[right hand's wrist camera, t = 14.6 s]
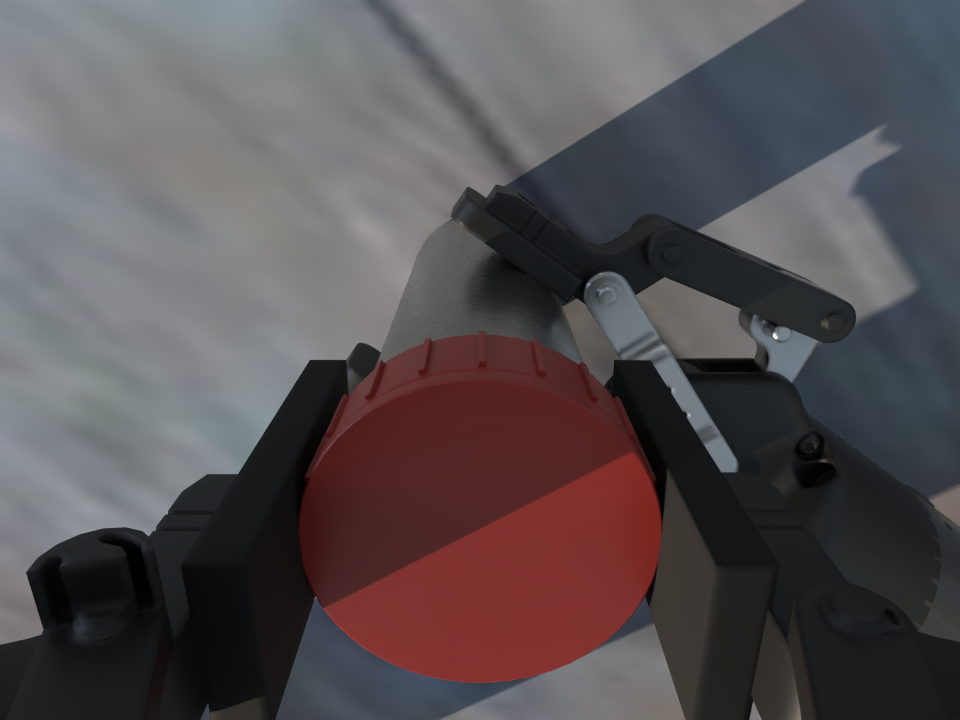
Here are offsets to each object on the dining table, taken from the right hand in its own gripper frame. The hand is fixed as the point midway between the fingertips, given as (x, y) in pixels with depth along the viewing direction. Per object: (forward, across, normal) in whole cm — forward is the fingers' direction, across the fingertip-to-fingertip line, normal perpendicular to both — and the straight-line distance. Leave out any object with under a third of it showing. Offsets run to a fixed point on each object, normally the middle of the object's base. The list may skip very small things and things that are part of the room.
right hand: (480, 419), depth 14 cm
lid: (-4, 0, 0) cm, 4 cm away
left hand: (+5, -2, +2) cm, 6 cm away
